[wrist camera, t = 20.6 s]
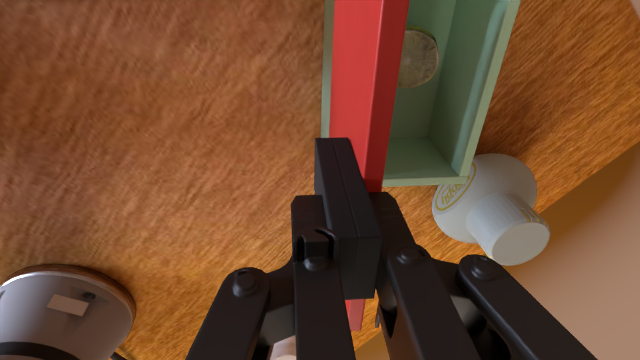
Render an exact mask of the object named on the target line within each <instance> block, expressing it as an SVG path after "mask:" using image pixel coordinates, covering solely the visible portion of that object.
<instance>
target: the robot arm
mask: <svg viewBox="0 0 640 360" xmlns="http://www.w3.org/2000/svg"><path fill="white" fill-rule="evenodd" d="M314 190H315V195H301V196H296V197H295V198H294V200H293V202H292V203H291V223H292V256H291V258H290V260H289V261H288V263H287V264H286V265H284V266H283V267H282V268H280V269H278V270H275V271H272V272H269V273H265V272H263V271H262V270H261V269H257V268H254V267H244V268H241V269H238V270H235V271H234V272H232V273H231V274H229V275H228V276H227V277H226V278H225V280H224V281H223V283H222V285H221V287H220V289H219V291H218V293H217V295H216V297H215V299H214V301H213V303H212V305H211V307H210V309H209V311H208V313H207V316H206V318H205V320H204V322H203V324H202V326H201V328H200V330H199V332H198V334H197V336H196V338H195V340H194V342H193V344H192V346H191V348H190V350H189V353H188V355H187V357H186V359H185V360H270V358H271V355H272V351H273V347H274V343H277V342H279V341H282V340H284V339H287V338H289V337H292V336H294V335H295V341H296V360H356V358H355V352H354V347H353V341H352V336H351V330H350V325H349V320H348V314H347V309H346V303H345V300H355V299H371V298H374V295H375V289H376V290H377V294H378V297H379V302H378V308H377V313H376V319H375V328H377V327H379V323H381V326H382V330H383V334H384V338H385V342H386V345H387V349H388V353H389V357H390V360H597V359H596V358H595V357H594V356H593V355H592V354H591V353H590V352H589V351H588V350H587V349H586V348H585V347H584V346H583V345H582V344H581V343H580V342H579V341H578V340H577V339H576V338H575V337H574V336H573V335H572V334H571V333H570V332H569V331H568V330H567V329H566V328H565V327H564V326H563V325H562V324H560V322H558V321H557V320H556V319H555V318H554V317H553V316H552V315H551V314H550V313H549V312H548V311H547V310H546V309H545V308H544V307H543V306H542V305H541V304H540V303H539V302H538V301H537V300H536V299H535V298H534V297H533V296H532V295H531V294H530V293H529V292H528V291H527V290H526V289H524V287H522V285H520V284H519V283H518V282H517V281H516V280H515V279H514V278H513V277H512V276H511V275H510V274H509V273H508V272H507V271H506V270H505V269H504V268H503V267H502V266H501V265H500V264H498V263H497V262H496V261H494V260H493V259H490V258H488V257H486V256H482V255H477V254H474V255H467V256H465V257H463V258H462V259H461V261H460V262H459V264H455V263H450V262H445V261H440V260H437V259H434V258H432V257H431V256H430V254H429V253H428V252H427V251H426V249H424V248H423V247H421V246H420V245H417V244H416V243H415V241H414V239H413V236H412V234H411V232H410V230H409V228H408V226H407V223H406V221H405V219H404V217H403V215H402V213H401V211H400V210H399V206H398V204H397V202H396V200H395V199H394V198H393V197H392V196H391V195H390V194H389V193H387V192H368V191H367V188H366V186H365V183H364V180H363V177H362V175H361V172H360V169H359V166H358V163H357V161H356V158H355V155H354V152H353V149H352V147H351V144H350V141H349V138H348V137H339V138H315V175H314ZM135 317H136V307H135V304H134V301H133V299H132V298H131V296H130V295H129V293H128V292H127V291H126V290H125V289H124V288H123V287H122V286H120V285H119V284H118V283H116V282H115V281H113V280H112V279H110V278H108V277H106V276H104V275H102V274H100V273H97V272H95V271H92V270H89V269H85V268H81V267H77V266H71V265H63V264H44V265H36V266H31V267H27V268H24V269H22V270H19V271H17V272H15V273H14V274H12V275H11V276H9V277H8V278H7V279H6V280H5V282H4V283H3V284H2V285H1V286H0V360H108V359H109V358H111V359H113V360H127V359H125V358H124V357H122V356H120V355H119V354H117V353H116V352H115V350H116V349H117V348H118V346H119V345H120V344H121V343H122V342H123V341H124V340H125V338H126V337H127V335H128V334H129V332H130V330H131V328H132V325H133V322H134V320H135Z"/></svg>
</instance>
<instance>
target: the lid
mask: <svg viewBox="0 0 640 360" xmlns="http://www.w3.org/2000/svg"><path fill="white" fill-rule="evenodd" d="M409 1H410V0H335V7H334V30H333V53H332V76H331V99H330V122H329V138H339V137H348V138H349V141H350V144H351V147H352V149H353V152H354V155H355V158H356V161H357V163H358V166H359V169H360V172H361V175H362V177H363V180H364V183H365V186H366V188H367V191H368V192H381V191H382V184H383V177H384V170H385V164H386V157H387V150H388V143H389V136H390V130H391V123H392V116H393V109H394V102H395V96H396V89H397V82H398V75H399V69H400V62H401V55H402V48H403V41H404V35H405V28H406V21H407V14H408V7H409ZM345 303H346V309H347V314H348V320H349V325H350V330H351V331H359V330H361V326H362V320H363V313H364V306H365V299H355V300H345Z"/></svg>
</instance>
